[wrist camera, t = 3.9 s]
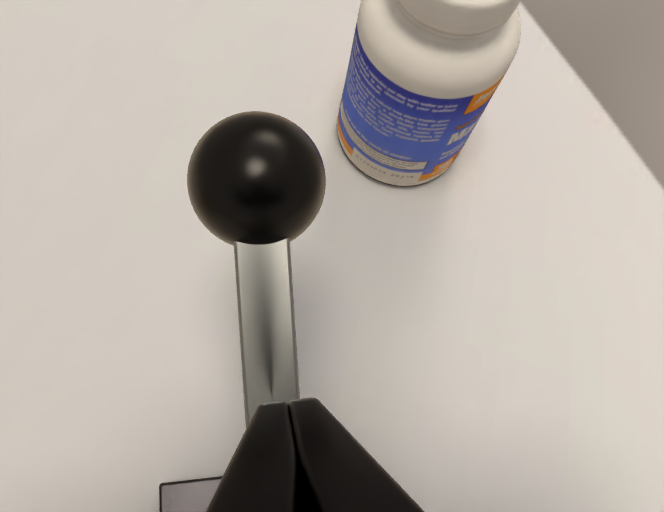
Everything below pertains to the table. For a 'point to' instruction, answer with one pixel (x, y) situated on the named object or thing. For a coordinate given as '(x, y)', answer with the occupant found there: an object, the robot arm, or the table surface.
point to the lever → (260, 234)
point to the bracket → (187, 495)
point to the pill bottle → (422, 82)
